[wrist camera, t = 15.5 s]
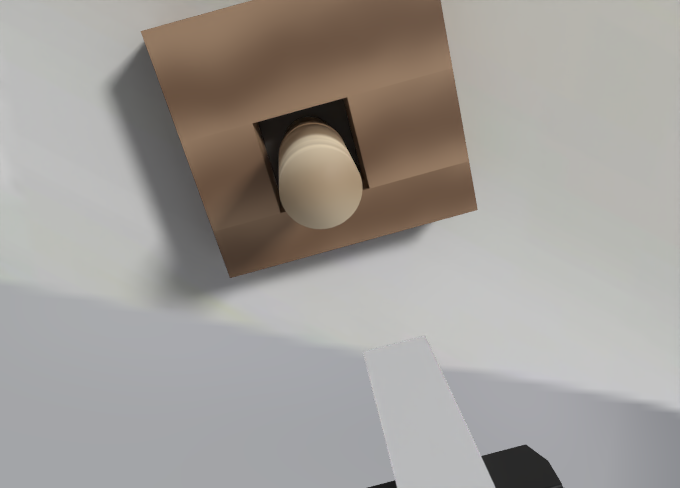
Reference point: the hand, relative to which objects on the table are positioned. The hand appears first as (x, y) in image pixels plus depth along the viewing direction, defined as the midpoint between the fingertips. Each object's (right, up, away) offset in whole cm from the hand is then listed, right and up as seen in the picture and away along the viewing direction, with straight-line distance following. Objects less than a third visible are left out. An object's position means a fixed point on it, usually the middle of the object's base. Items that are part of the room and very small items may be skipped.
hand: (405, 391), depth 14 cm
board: (-3, +12, +24) cm, 27 cm away
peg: (-4, +10, +25) cm, 27 cm away
